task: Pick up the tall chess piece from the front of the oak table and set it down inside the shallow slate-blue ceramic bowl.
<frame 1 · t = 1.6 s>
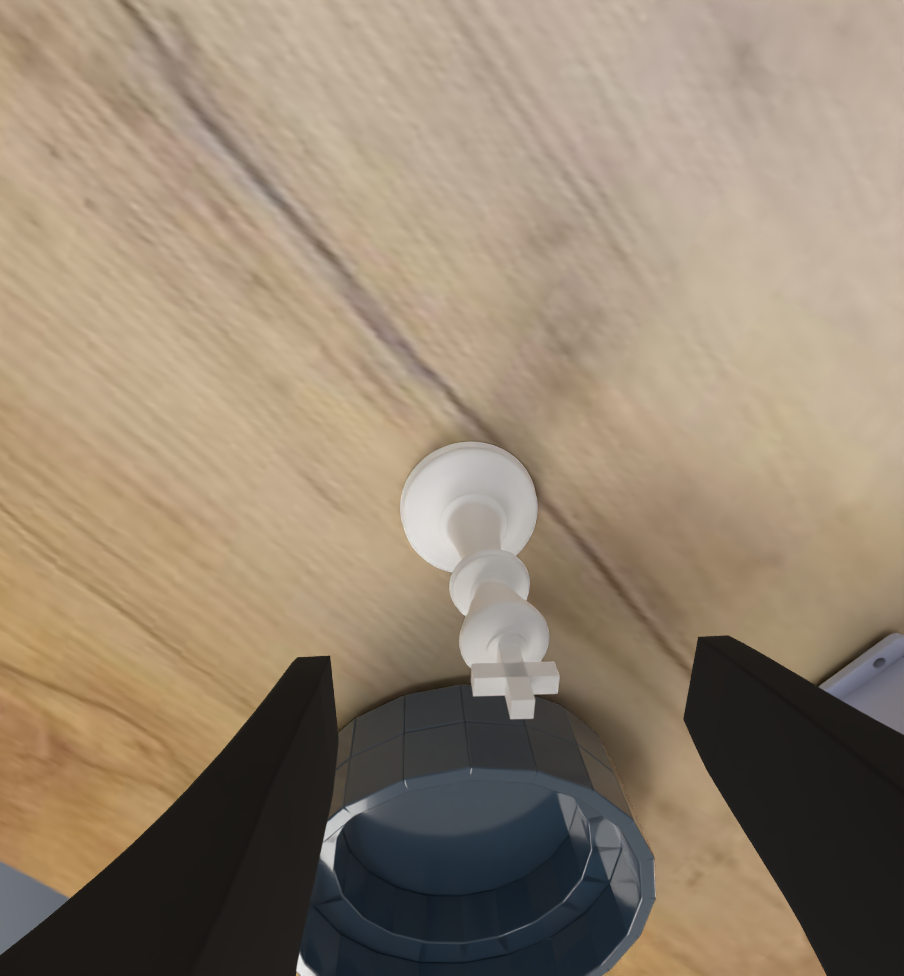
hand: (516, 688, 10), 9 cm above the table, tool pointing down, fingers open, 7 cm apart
bowl: (459, 802, 24), on the table
chess piece: (468, 505, 19), on the table
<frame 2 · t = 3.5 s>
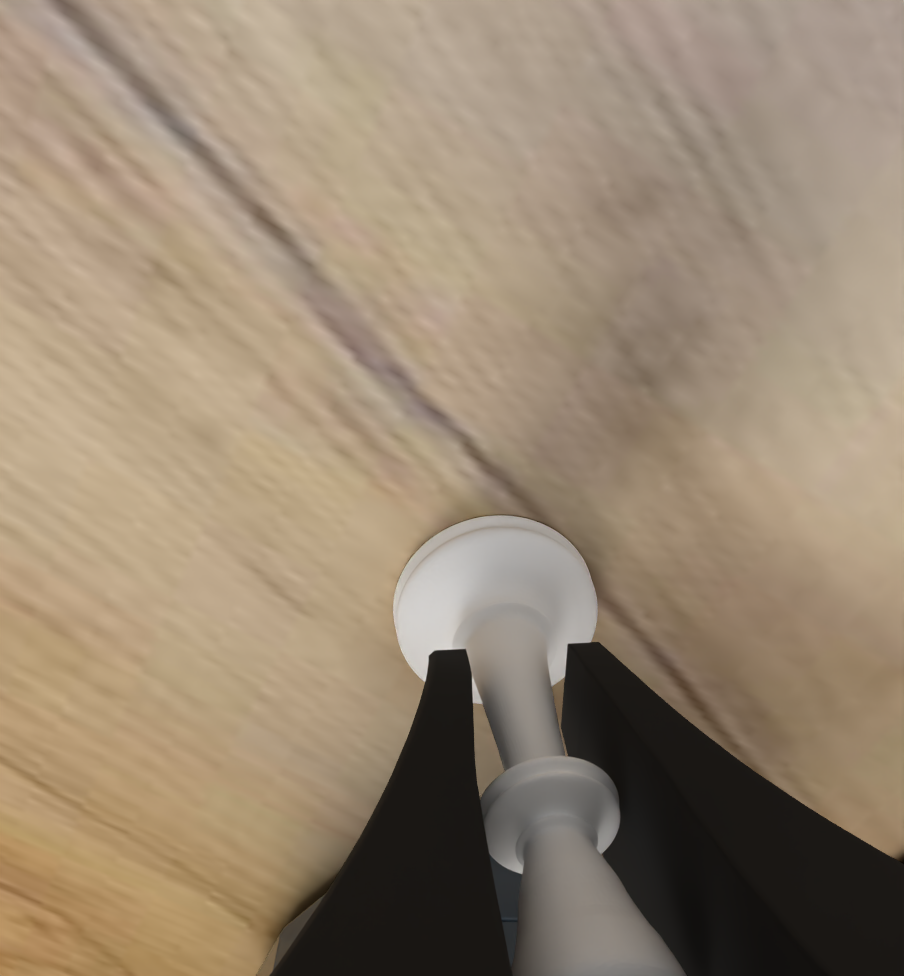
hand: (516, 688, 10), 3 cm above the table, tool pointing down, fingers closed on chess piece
bowl: (474, 974, 18), on the table
chess piece: (492, 602, 13), on the table, touching gripper
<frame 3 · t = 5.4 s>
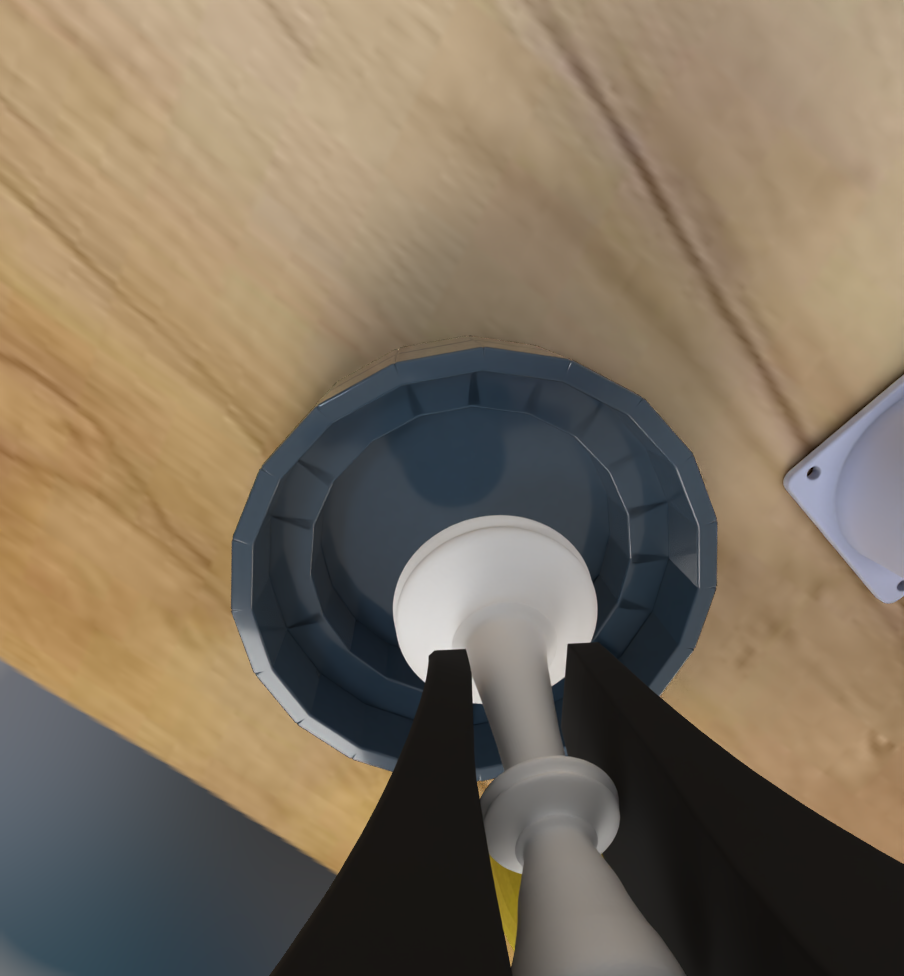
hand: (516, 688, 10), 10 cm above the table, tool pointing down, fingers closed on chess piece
bowl: (466, 533, 20), on the table
chess piece: (492, 602, 13), point 7 cm above the table, touching gripper
lemon: (533, 772, 24), on the table
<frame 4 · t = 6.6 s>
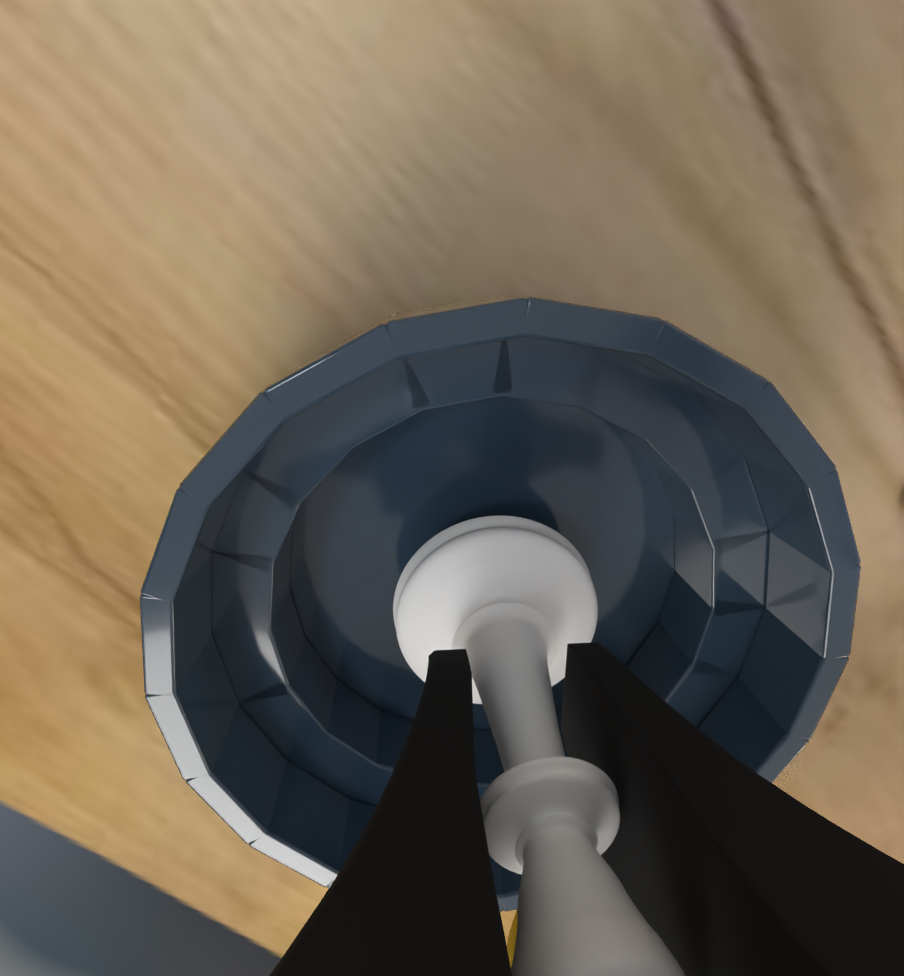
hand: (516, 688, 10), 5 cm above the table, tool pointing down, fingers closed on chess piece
bowl: (483, 566, 15), on the table
chess piece: (492, 602, 13), point 2 cm above the table, touching gripper
lemon: (562, 858, 20), on the table
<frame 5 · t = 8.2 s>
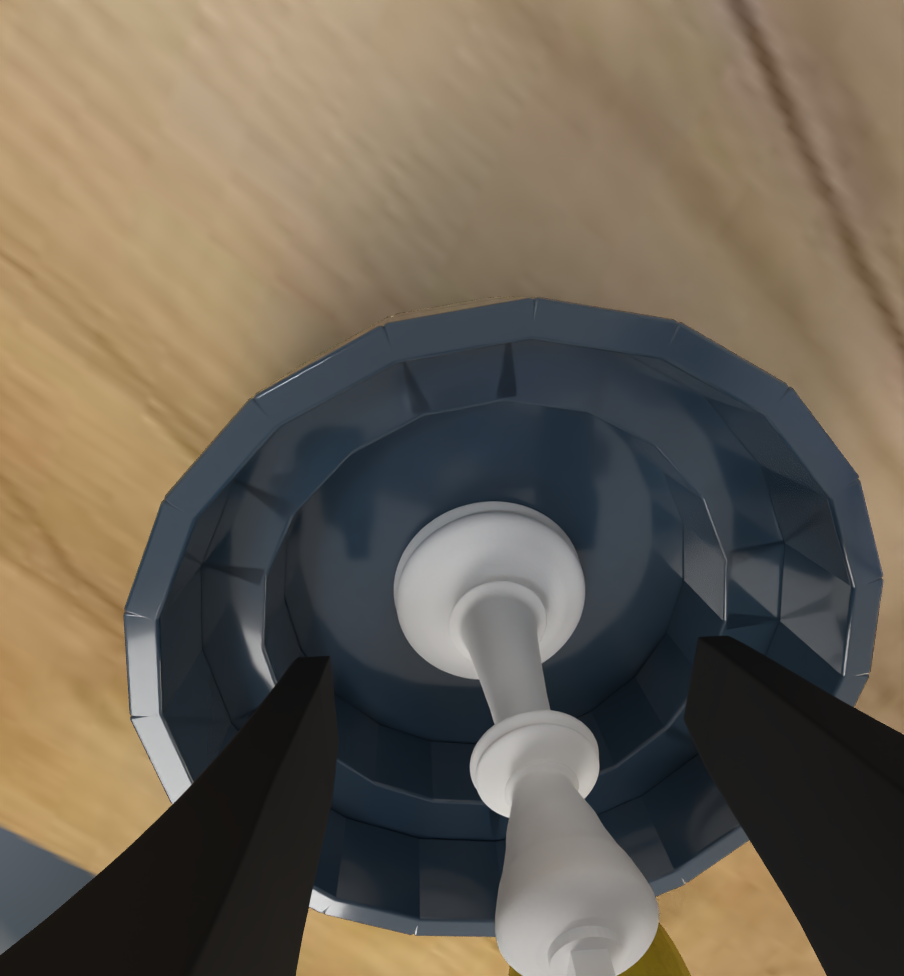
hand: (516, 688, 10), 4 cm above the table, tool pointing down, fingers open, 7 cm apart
bowl: (485, 576, 14), on the table
chess piece: (487, 583, 14), resting on bowl
lemon: (566, 873, 19), on the table
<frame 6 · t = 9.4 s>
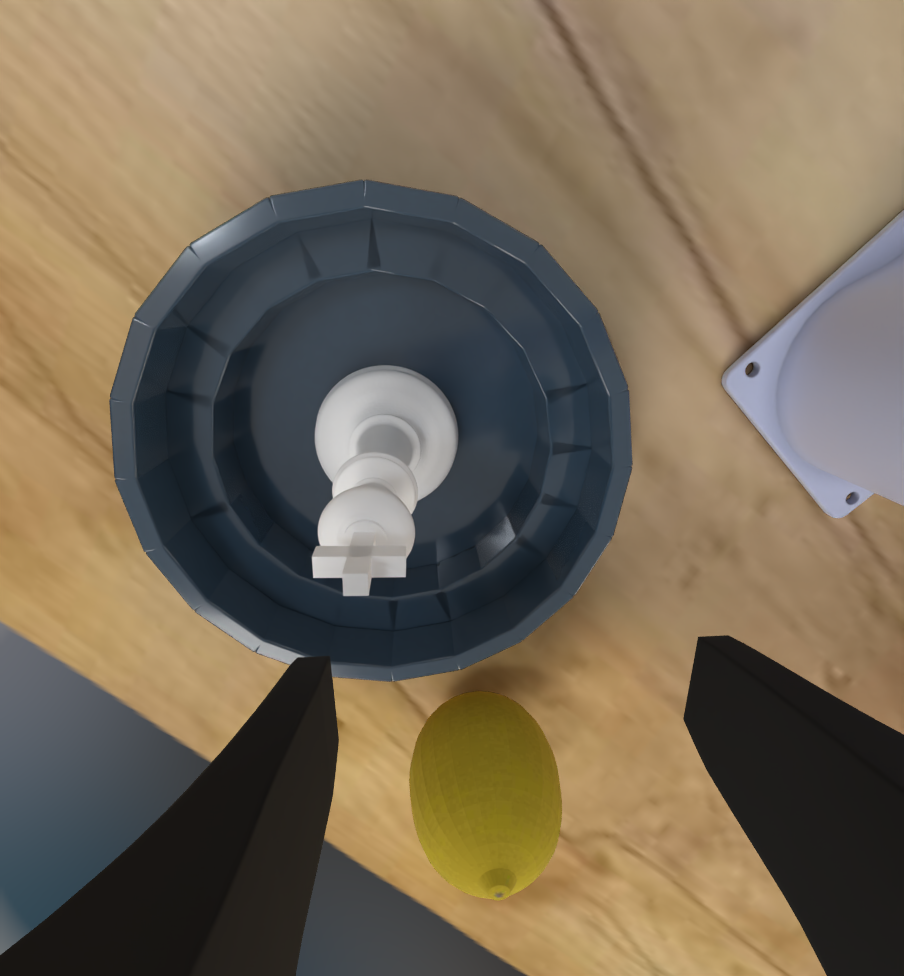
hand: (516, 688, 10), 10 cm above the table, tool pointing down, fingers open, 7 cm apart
bowl: (388, 432, 19), on the table
chess piece: (387, 435, 19), resting on bowl
lemon: (473, 700, 24), on the table
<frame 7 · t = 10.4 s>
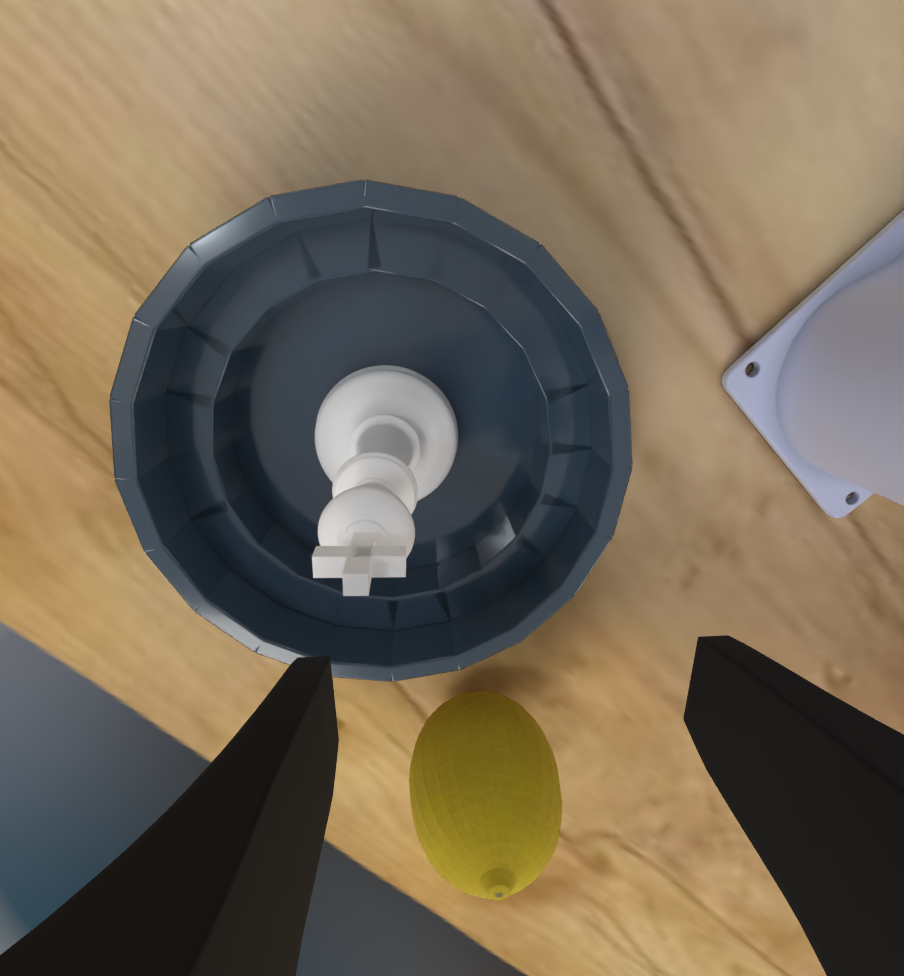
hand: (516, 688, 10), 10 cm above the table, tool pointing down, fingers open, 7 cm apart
bowl: (388, 432, 19), on the table
chess piece: (387, 435, 19), resting on bowl
lemon: (473, 700, 24), on the table
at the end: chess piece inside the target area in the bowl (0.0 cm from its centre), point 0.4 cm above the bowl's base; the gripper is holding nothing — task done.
